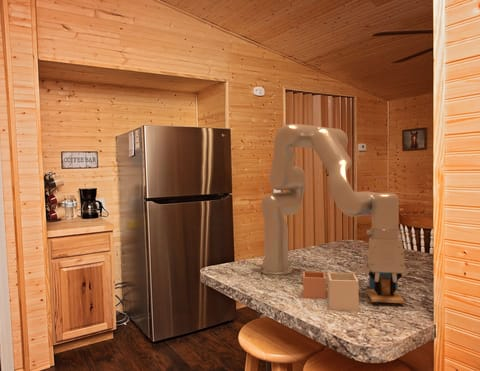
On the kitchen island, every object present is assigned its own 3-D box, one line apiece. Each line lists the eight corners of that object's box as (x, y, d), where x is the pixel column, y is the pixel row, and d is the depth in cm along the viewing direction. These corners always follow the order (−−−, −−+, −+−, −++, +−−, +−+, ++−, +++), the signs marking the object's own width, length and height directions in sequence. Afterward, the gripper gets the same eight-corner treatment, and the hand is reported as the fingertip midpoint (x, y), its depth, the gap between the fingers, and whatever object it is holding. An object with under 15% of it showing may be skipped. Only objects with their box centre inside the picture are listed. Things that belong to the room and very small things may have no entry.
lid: (372, 301, 108) (372, 282, 108) (366, 291, 117) (366, 273, 117) (404, 303, 106) (404, 283, 106) (396, 292, 115) (396, 274, 115)
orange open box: (303, 299, 115) (303, 277, 115) (303, 292, 122) (303, 271, 122) (326, 300, 114) (325, 278, 114) (324, 293, 121) (324, 272, 121)
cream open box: (329, 311, 106) (329, 280, 105) (327, 301, 114) (327, 272, 113) (358, 312, 104) (358, 281, 104) (354, 302, 112) (354, 273, 112)
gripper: (358, 235, 109) (358, 297, 109) (417, 236, 106) (417, 299, 107) (354, 231, 116) (355, 288, 117) (410, 232, 113) (409, 291, 114)
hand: (384, 293), depth 112 cm, fingers closed on lid, 3 cm apart
